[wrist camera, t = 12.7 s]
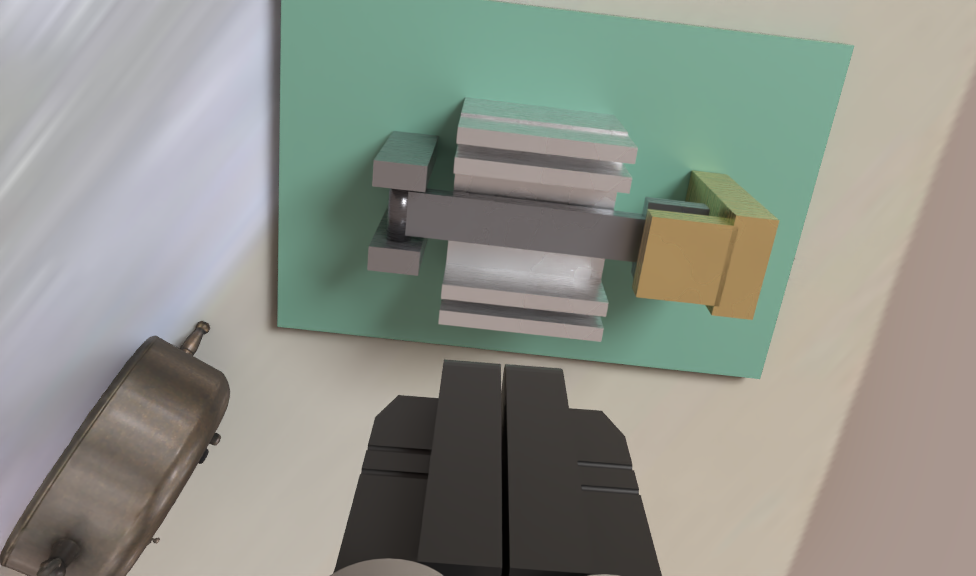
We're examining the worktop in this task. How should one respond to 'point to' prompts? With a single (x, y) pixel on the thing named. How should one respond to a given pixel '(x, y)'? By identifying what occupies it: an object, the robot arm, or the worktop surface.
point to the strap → (524, 223)
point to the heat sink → (519, 175)
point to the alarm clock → (123, 465)
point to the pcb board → (549, 83)
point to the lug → (708, 249)
